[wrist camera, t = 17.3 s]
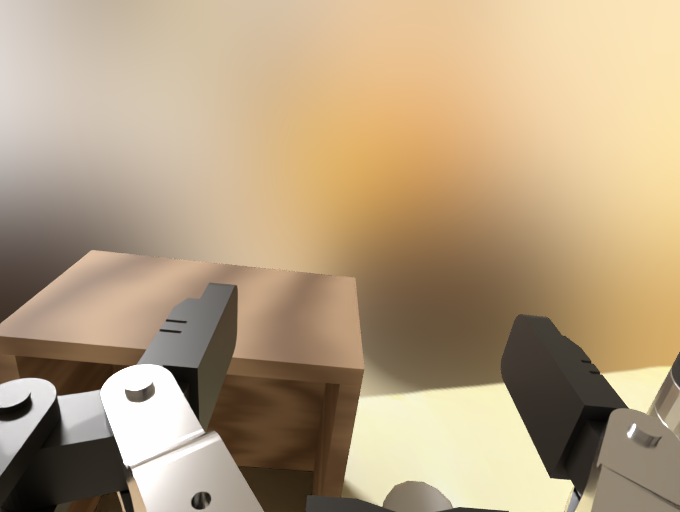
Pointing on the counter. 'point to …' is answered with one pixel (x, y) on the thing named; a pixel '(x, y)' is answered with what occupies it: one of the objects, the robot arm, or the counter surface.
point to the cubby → (246, 364)
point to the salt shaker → (416, 498)
